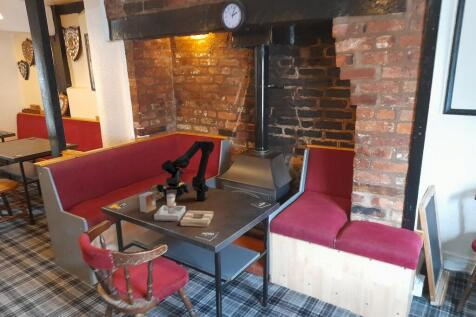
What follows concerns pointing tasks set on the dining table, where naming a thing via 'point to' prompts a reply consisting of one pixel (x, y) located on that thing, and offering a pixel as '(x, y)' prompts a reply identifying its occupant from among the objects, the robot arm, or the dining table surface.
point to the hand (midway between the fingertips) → (170, 202)
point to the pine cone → (156, 193)
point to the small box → (147, 202)
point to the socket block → (204, 222)
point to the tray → (165, 216)
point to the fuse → (171, 203)
